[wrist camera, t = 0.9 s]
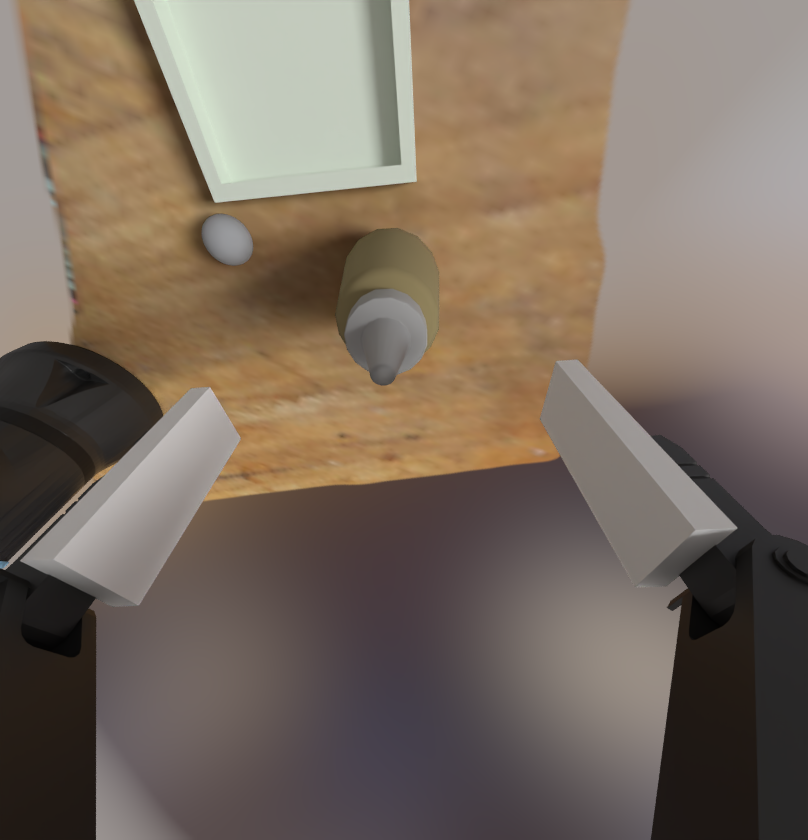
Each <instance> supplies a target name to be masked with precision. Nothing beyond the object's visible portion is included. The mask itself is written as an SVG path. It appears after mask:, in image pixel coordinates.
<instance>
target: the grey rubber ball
mask: <svg viewBox="0 0 808 840" xmlns="http://www.w3.org/2000/svg"><path fill="white" fill-rule="evenodd" d="M202 240H203V243H204V245H205V247H206V249H207V250H208V252H209V253H210V254H211V255H212V256H213V257H214V258H215V259H217V260H218V261H220V262H222V263H224V264H227V265H232V266H235V265H241V264H243V263H245V262H246V261H248V260H249V258H250V257H251V255H252V252H253V241H252V238H251V235H250V233H249V231H248V230H247V228H246V227H245V226H244V225H243V224H242V223H241V222H240V221H239V220H237V219H236V218H234V217H232V216H230V215H226V214H215V215H212V216H210V217H209V218H207V219H206V220H205V222H204V224H203V226H202Z"/></svg>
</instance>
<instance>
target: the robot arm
mask: <svg viewBox="0 0 808 840" xmlns="http://www.w3.org/2000/svg"><path fill="white" fill-rule="evenodd" d="M540 420H541V422H542V424H543V426H544V427H545V429H546V431H547V433H548V434H549V436H550V438H551V440H552V441H553V443H554V445H555V447H556V449H557V450H558V452H559V454H560V456H561V457H562V459H563V461H564V463H565V465H566V466H567V468H568V470H569V472H570V473H571V475H572V477H573V479H574V480H575V482H576V484H577V485H578V488H579V489H580V491H581V493H582V495H583V496H584V498H585V500H586V502H587V503H588V505H589V507H590V509H591V510H592V512H593V514H594V516H595V518H596V519H597V521H598V523H599V525H600V526H601V528H602V530H603V532H604V533H605V535H606V537H607V539H608V541H609V542H610V544H611V546H612V548H613V549H614V551H615V553H616V555H617V557H618V558H619V560H620V562H621V564H622V565H623V567H624V569H625V571H626V572H627V574H628V576H629V578H630V580H631V581H632V583H633V585H634V587H658V586H667V585H669V584H670V583H671V582H672V581H673V580H675V579H676V578H677V577H678V576H680V577H681V578H682V580H683V581H684V583H685V584H686V585H687V587H688V589H686V590H685V591H683V592H682V593H681V594H679V595H678V596H677V597H675V598H674V599H673V600H671V601H670V603H669V605H668V607H667V608H668V609H670V610H672V611H673V610H675V609H676V608H677V607H679V606H680V605H681V614H680V621H679V628H678V637H677V644H676V651H675V659H674V667H673V674H672V682H671V689H670V697H669V705H668V712H667V720H666V728H665V735H664V743H663V751H662V759H661V766H660V774H659V782H658V789H657V797H656V804H655V812H654V819H653V827H652V835H651V840H808V546H807V545H805V544H803V543H801V542H799V541H797V540H793V539H790V538H786V537H783V536H780V535H771V533H770V532H768V531H767V530H766V529H764V528H763V526H762V525H761V524H759V522H758V521H756V520H755V519H754V518H753V517H752V516H751V515H750V514H749V513H748V512H747V511H746V510H745V509H744V508H743V507H742V506H741V505H740V504H739V503H738V502H737V501H736V500H735V499H734V498H733V497H732V496H731V495H730V494H729V493H728V492H727V491H726V490H725V489H724V488H723V487H722V486H721V485H719V484H718V483H717V482H716V481H715V480H714V479H713V478H712V479H711V478H710V475H709V474H708V473H707V472H706V471H705V470H704V469H703V468H702V467H701V466H698V465H697V462H696V461H695V460H694V459H693V458H692V457H691V456H690V455H689V454H687V452H686V451H685V450H684V449H683V448H681V447H680V446H678V445H676V444H675V443H673V442H671V441H670V440H668V439H667V438H665V437H663V436H661V435H658V436H650V435H649V434H648V433H647V432H646V431H645V430H644V429H643V428H642V427H641V426H640V425H639V424H638V423H637V422H636V421H635V420H634V419H633V418H632V416H631V415H630V414H629V413H628V412H627V411H626V410H625V409H624V408H623V407H622V406H621V405H620V404H619V403H618V402H617V401H616V400H615V399H614V398H613V396H612V395H611V394H610V393H609V392H608V391H607V390H606V389H605V388H604V387H603V386H602V385H601V384H600V383H599V382H598V381H597V380H596V379H595V378H594V377H593V376H592V374H591V373H590V372H589V371H588V370H587V369H586V368H585V367H584V366H583V365H582V364H581V363H580V362H579V361H578V360H566V361H556V363H555V366H554V370H553V374H552V377H551V381H550V384H549V388H548V392H547V395H546V399H545V402H544V406H543V409H542V413H541V417H540ZM240 439H241V438H240V436H239V434H238V433H237V431H236V429H235V428H234V426H233V424H232V423H231V421H230V419H229V418H228V416H227V414H226V413H225V411H224V409H223V408H222V406H221V404H220V403H219V401H218V400H217V398H216V396H215V395H214V393H213V391H212V390H211V388H210V387H203V388H191V389H190V390H189V391H188V392H187V393H186V394H185V395H184V396H183V397H182V398H181V399H180V400H179V401H178V402H177V403H176V404H175V405H174V406H173V407H172V408H171V409H170V410H169V411H168V412H167V413H166V414H165V415H164V416H163V414H162V410H161V408H160V406H159V404H158V402H157V401H156V399H155V398H154V396H153V395H152V394H151V392H150V391H149V390H148V389H147V388H146V387H145V386H144V385H143V384H142V383H141V382H140V381H139V380H138V379H137V378H135V377H134V376H133V375H132V374H130V373H129V372H128V371H126V370H125V369H123V368H122V367H120V366H119V365H117V364H115V363H114V362H112V361H110V360H108V359H107V358H105V357H103V356H100V355H98V354H96V353H94V352H91V351H89V350H86V349H83V348H80V347H77V346H73V345H69V344H65V343H59V342H47V341H44V342H34V343H30V344H27V345H25V346H22V347H20V348H18V349H16V350H14V351H12V352H9V353H7V354H6V355H4V356H2V357H1V358H0V840H96V615H95V612H94V611H93V610H91V609H88V608H89V607H90V605H91V604H92V602H93V601H94V600H95V599H98V600H100V601H102V602H104V603H106V604H108V605H110V606H112V607H115V606H138V605H139V604H140V603H141V601H142V599H143V598H144V596H145V595H146V593H147V591H148V590H149V588H150V586H151V585H152V583H153V581H154V580H155V578H156V576H157V575H158V573H159V572H160V570H161V568H162V567H163V565H164V564H165V562H166V560H167V559H168V557H169V555H170V554H171V552H172V550H173V549H174V547H175V545H176V544H177V542H178V541H179V539H180V537H181V536H182V534H183V533H184V531H185V529H186V528H187V526H188V524H189V523H190V521H191V519H192V518H193V516H194V515H195V513H196V511H197V510H198V508H199V506H200V505H201V503H202V502H203V500H204V498H205V497H206V495H207V493H208V492H209V490H210V488H211V487H212V485H213V484H214V482H215V480H216V479H217V477H218V475H219V474H220V472H221V470H222V469H223V467H224V466H225V464H226V462H227V461H228V459H229V457H230V456H231V454H232V453H233V451H234V449H235V448H236V446H237V444H238V443H239V441H240ZM115 463H116V464H115ZM113 464H115V465H114V466H113V468H112V469H111V470H110V471H109V472H108V473H107V474H106V475H104V476H103V477H101V478H100V479H99V480H97V481H96V482H94V483H93V484H92V485H91V486H90V487H89V488H88V489H87V490H86V491H85V492H84V493H83V494H82V495H81V496H80V497H79V498H78V501H76V502H74V503H73V504H72V505H71V506H70V507H69V508H68V509H67V510H66V513H65V514H62V515H61V516H60V517H59V518H58V519H57V520H56V521H55V522H54V523H53V524H52V525H51V526H50V527H49V528H48V529H47V530H46V531H45V532H44V533H43V534H42V535H41V536H40V537H39V538H38V539H37V540H36V541H35V542H34V543H33V544H32V545H31V546H30V547H29V548H28V549H27V550H26V551H25V552H24V553H23V554H22V555H21V556H20V557H19V558H18V559H17V560H16V561H15V562H14V563H13V564H11V565H10V566H9V567H8V568H7V569H6V570H3V569H2V568H4V567H5V566H7V564H8V563H9V562H8V561H9V560H10V559H11V557H13V556H14V555H15V554H16V553H17V552H18V551H19V550H20V549H21V548H22V547H23V546H24V545H25V544H26V543H27V542H28V541H29V540H30V539H31V538H32V537H33V536H34V535H35V534H36V533H37V532H38V531H39V530H40V529H41V528H42V527H43V526H44V525H45V524H46V523H47V522H48V521H49V520H50V519H51V518H52V517H53V516H54V515H55V514H56V513H57V512H58V511H59V510H60V509H61V508H62V507H63V506H64V505H65V504H66V503H67V502H68V501H69V500H70V499H71V498H72V497H73V496H74V495H75V494H76V493H77V492H78V491H79V490H80V489H81V488H82V487H83V486H84V485H85V484H86V483H87V482H88V481H89V480H91V479H92V478H93V477H94V476H95V475H96V474H97V473H98V472H100V471H102V470H104V469H106V468H108V467H110V466H112V465H113Z"/></svg>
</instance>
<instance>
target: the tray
mask: <svg viewBox="0 0 808 840" xmlns="http://www.w3.org/2000/svg"><path fill="white" fill-rule="evenodd" d="M134 1H135V4H136V6H137V9H138V12H139V14H140V17H141V19H142V22H143V24H144V27H145V29H146V32H147V34H148V37H149V39H150V42H151V44H152V47H153V49H154V52H155V54H156V57H157V59H158V62H159V64H160V67H161V69H162V72H163V74H164V77H165V79H166V82H167V84H168V87H169V89H170V92H171V94H172V97H173V99H174V102H175V104H176V107H177V109H178V112H179V114H180V117H181V119H182V122H183V124H184V127H185V129H186V132H187V134H188V137H189V139H190V142H191V144H192V147H193V149H194V152H195V154H196V157H197V159H198V162H199V164H200V167H201V169H202V172H203V174H204V177H205V179H206V182H207V184H208V187H209V189H210V192H211V194H212V197H213V199H214V202H215V203H217V202H227V201H237V200H246V199H256V198H265V197H275V196H284V195H294V194H303V193H313V192H322V191H332V190H341V189H351V188H360V187H370V186H379V185H389V184H398V183H408V182H417V181H416V157H415V133H414V110H413V86H412V62H411V38H410V14H409V0H134Z"/></svg>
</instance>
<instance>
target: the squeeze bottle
mask: <svg viewBox="0 0 808 840" xmlns="http://www.w3.org/2000/svg"><path fill="white" fill-rule="evenodd" d="M335 316H336V321H337V326H338V331H339V335H340V336H341V338H342V339H343V341H344V343H345V344H346V347H347V350H348V352H349V353H350V355H351V356H352V358H353V359H354V361H355V362H356V363H357V364H359V365H360V366H361V367H363V368H364V369H365V370H367V371H369V373H370V377H371V379H372V380H373V382H375V383H376V384H378V385H388V384H391V383H392V382H393V381H394V379H395V377H396V375H398V374H400V373H402V372H405V371H407V370H410V369H411V368H412V367H413V366H414V365H415V364H416V363H417V362H419V361H420V360H421V358H422V356H423V354H424V353H425V352H426V351H427V350H428V349H429V348H430V347H431V345H432V343H433V341H434V339H435V336H436V334H437V332H438V330H439V270H438V267H437V265H436V262H435V259H434V256H433V254H432V252H431V251H430V250H429V248H428V247H427V246H426V245H425V244H424V243H423V242H422V241H421V240H420V239H419V238H418V236H415V235H413V234H411V233H408V232H406V231H403V230H401V229H399V228H391V229H377V230H375V231H373V232H371V233H370V234H368V235H366V236H364V237H363V238H361V239H359V240H358V241H357V243H356V244H355V246H354V247H353V249H352V250H351V252H350V253H349V254H348V256H347V258H346V263H345V268H344V272H343V277H342V282H341V287H340V292H339V298H338V303H337V308H336V313H335Z"/></svg>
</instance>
